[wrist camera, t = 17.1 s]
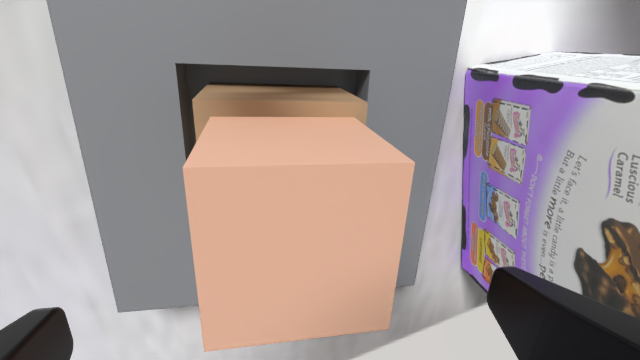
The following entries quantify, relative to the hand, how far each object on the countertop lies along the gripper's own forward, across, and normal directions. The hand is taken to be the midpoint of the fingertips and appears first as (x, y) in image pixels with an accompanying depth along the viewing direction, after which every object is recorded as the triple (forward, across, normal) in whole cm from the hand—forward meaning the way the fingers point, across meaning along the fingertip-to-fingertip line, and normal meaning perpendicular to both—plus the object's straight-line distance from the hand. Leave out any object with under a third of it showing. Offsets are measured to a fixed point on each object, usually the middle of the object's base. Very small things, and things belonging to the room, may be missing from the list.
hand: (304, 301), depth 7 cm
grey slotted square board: (+12, 0, 0) cm, 12 cm away
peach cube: (+6, 0, 0) cm, 6 cm away
